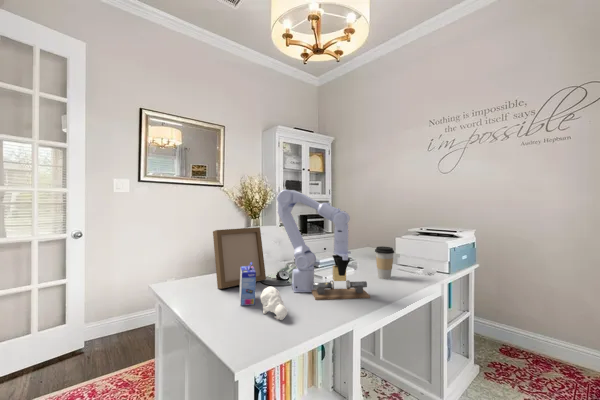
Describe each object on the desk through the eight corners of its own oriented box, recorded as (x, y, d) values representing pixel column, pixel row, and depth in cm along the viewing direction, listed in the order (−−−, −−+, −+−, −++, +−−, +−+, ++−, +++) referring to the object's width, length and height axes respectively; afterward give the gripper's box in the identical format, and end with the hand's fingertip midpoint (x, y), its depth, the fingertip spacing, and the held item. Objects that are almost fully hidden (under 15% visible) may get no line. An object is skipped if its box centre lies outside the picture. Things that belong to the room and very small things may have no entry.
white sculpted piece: (275, 283, 98) (293, 296, 88) (274, 306, 99) (292, 322, 89) (259, 286, 94) (276, 300, 85) (258, 310, 95) (275, 327, 85)
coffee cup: (396, 277, 139) (396, 247, 139) (391, 281, 131) (391, 250, 131) (377, 274, 144) (377, 245, 144) (371, 278, 136) (372, 248, 136)
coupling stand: (315, 299, 106) (315, 284, 106) (311, 292, 115) (311, 278, 115) (370, 297, 109) (370, 283, 109) (361, 290, 118) (362, 276, 118)
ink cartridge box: (256, 305, 100) (256, 265, 100) (240, 306, 99) (241, 266, 99) (253, 295, 110) (253, 259, 110) (239, 297, 108) (239, 260, 108)
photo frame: (266, 281, 129) (266, 228, 129) (221, 290, 115) (221, 231, 115) (250, 274, 140) (250, 225, 140) (208, 282, 126) (208, 228, 126)
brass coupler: (343, 278, 115) (344, 265, 115) (346, 280, 111) (346, 267, 111) (332, 278, 114) (332, 265, 114) (334, 281, 111) (334, 267, 110)
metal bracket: (284, 261, 145) (306, 266, 136) (286, 271, 147) (308, 277, 137) (265, 275, 134) (288, 280, 125) (267, 285, 136) (291, 292, 127)
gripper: (355, 243, 106) (355, 279, 106) (346, 238, 120) (345, 269, 120) (337, 243, 105) (337, 279, 105) (330, 238, 119) (329, 269, 119)
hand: (340, 274), depth 113 cm, fingers closed on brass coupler, 4 cm apart
